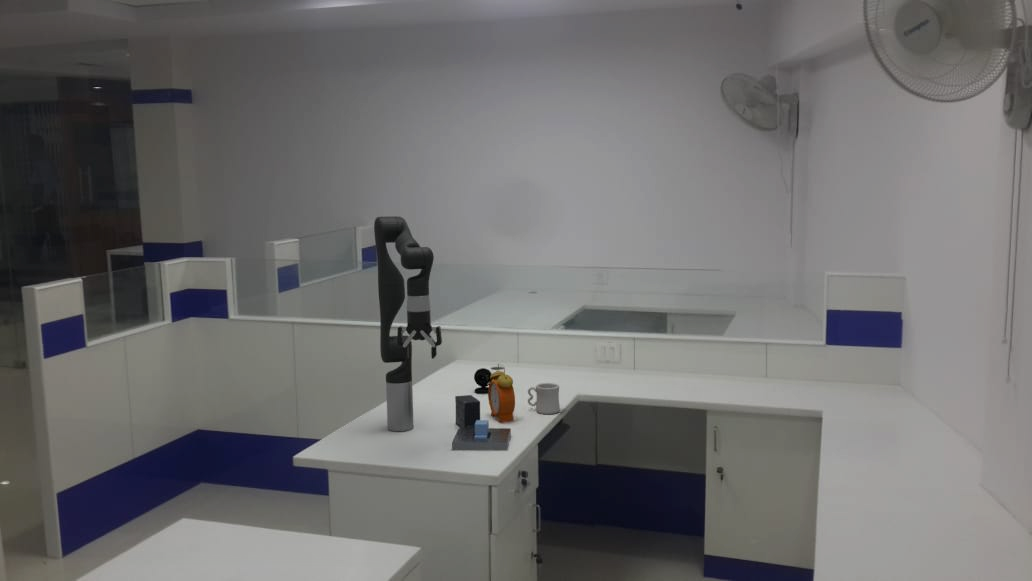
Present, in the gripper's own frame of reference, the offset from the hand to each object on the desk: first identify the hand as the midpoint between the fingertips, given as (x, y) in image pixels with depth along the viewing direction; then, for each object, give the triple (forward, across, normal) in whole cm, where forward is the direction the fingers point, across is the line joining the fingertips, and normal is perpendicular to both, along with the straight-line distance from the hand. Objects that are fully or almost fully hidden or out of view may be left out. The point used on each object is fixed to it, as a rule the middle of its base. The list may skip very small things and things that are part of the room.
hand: (420, 358), depth 281 cm
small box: (+30, -12, -24) cm, 41 cm away
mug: (+30, -38, -45) cm, 66 cm away
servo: (+30, -19, -6) cm, 36 cm away
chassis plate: (+30, -19, -6) cm, 36 cm away
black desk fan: (+30, -12, -74) cm, 81 cm away
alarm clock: (+30, -23, -35) cm, 52 cm away
